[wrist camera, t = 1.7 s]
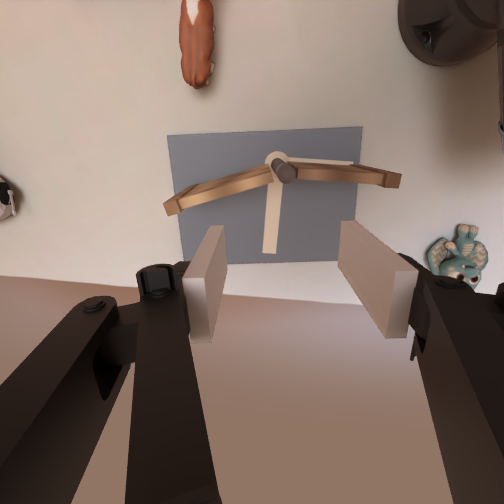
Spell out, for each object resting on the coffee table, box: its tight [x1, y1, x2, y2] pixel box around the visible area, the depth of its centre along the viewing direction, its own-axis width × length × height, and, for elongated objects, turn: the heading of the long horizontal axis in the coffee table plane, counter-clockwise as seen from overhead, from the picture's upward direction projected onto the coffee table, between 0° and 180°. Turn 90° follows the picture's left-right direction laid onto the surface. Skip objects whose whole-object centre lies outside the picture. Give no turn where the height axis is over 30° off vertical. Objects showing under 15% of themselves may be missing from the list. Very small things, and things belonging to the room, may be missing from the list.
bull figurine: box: [179, 0, 215, 89], centre depth 36 cm, size 4×13×8 cm, turn 169°
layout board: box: [167, 127, 363, 264], centre depth 48 cm, size 30×22×1 cm
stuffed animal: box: [428, 225, 488, 290], centre depth 49 cm, size 11×7×12 cm
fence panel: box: [163, 164, 274, 216], centre depth 40 cm, size 13×2×14 cm, turn 106°
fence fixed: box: [271, 158, 402, 188], centre depth 39 cm, size 14×2×16 cm, turn 86°
